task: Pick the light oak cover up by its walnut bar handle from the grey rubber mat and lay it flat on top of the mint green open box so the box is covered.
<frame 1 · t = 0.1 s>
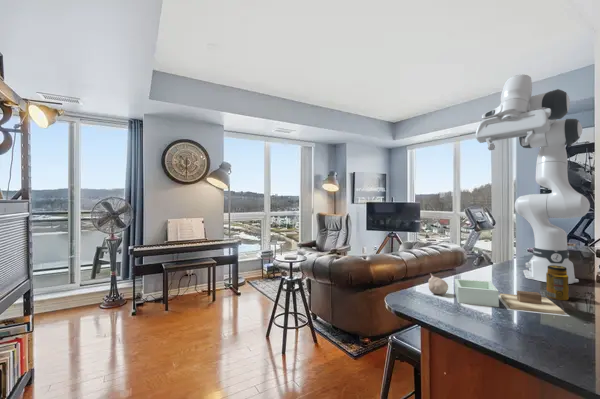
hand: (507, 147, 96), 54 cm above the counter, tool tilted 30°, fingers open, 8 cm apart
mint green open box: (475, 300, 105), on the counter
condiment: (556, 300, 105), on the counter
grey mat: (529, 306, 99), on the counter
oak cover: (529, 304, 99), point 1 cm above the counter, touching grey mat
garlic bulb: (438, 294, 114), on the counter
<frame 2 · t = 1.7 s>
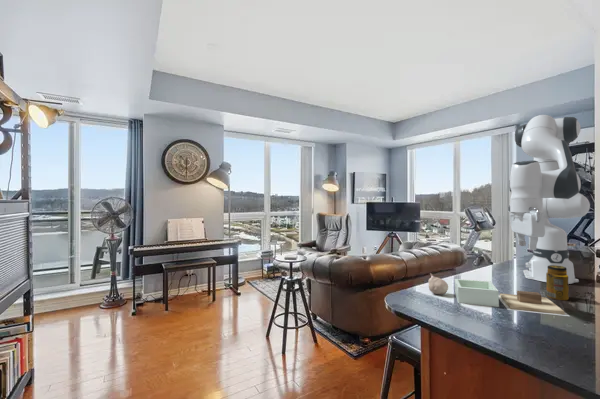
hand: (526, 247, 99), 20 cm above the counter, tool pointing down, fingers open, 8 cm apart
nothing on the counter moved.
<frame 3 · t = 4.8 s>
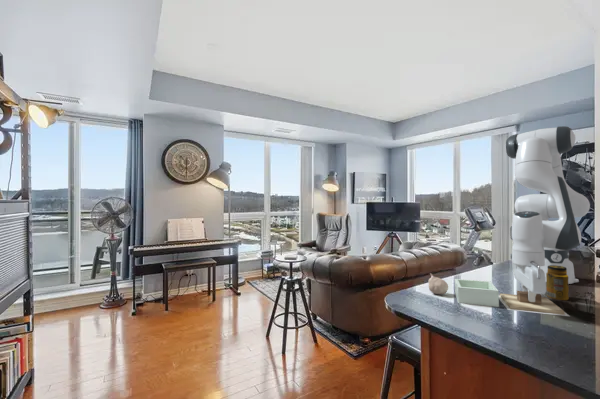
hand: (529, 299, 99), 2 cm above the counter, tool pointing down, fingers closed on oak cover, 3 cm apart
oak cover: (529, 304, 99), point 1 cm above the counter, touching grey mat, gripper
everything else where it was.
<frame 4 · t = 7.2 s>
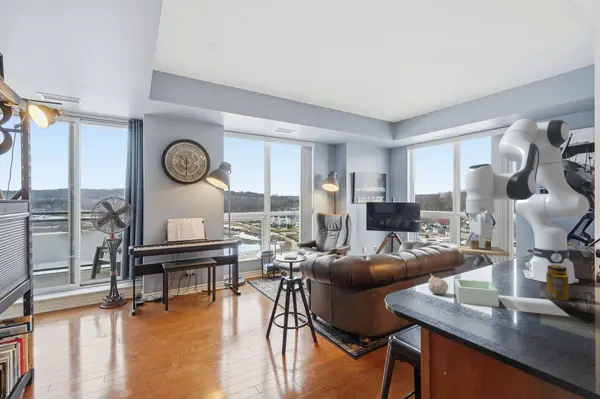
hand: (480, 246, 104), 20 cm above the counter, tool pointing down, fingers closed on oak cover, 3 cm apart
oak cover: (480, 251, 104), point 18 cm above the counter, touching gripper
everything else where it was.
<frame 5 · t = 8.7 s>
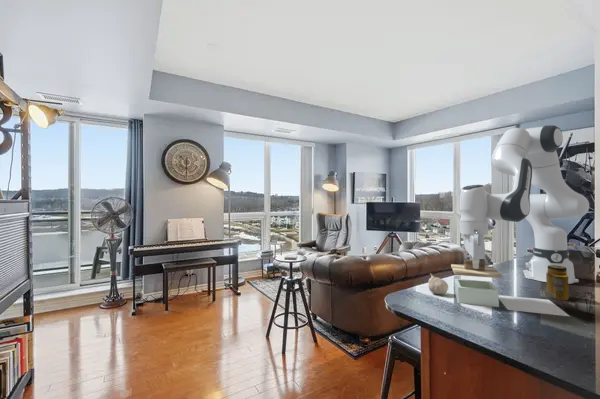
hand: (474, 267, 105), 12 cm above the counter, tool pointing down, fingers closed on oak cover, 3 cm apart
oak cover: (474, 271, 105), point 11 cm above the counter, touching gripper
everything else where it was.
when the fingers open (9 cm above the counter, at t = 9.9 s): oak cover drops 1 cm, resting on mint green open box.
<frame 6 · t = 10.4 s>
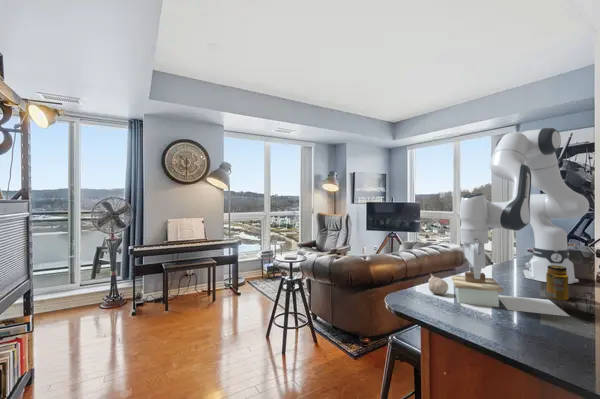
hand: (474, 275, 105), 9 cm above the counter, tool pointing down, fingers open, 8 cm apart
oak cover: (475, 284, 105), point 6 cm above the counter, touching mint green open box
everything else where it was.
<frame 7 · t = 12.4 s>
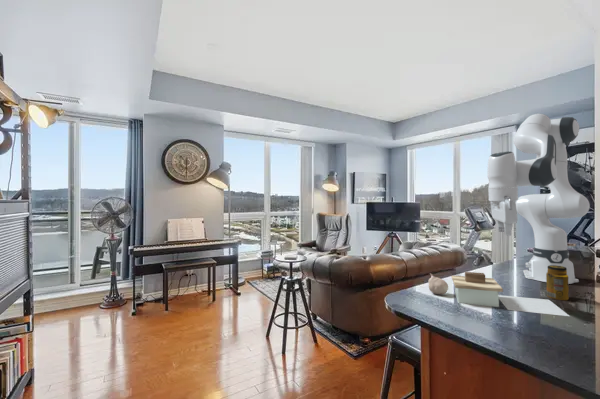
hand: (504, 233, 106), 24 cm above the counter, tool pointing down, fingers open, 8 cm apart
nothing on the counter moved.
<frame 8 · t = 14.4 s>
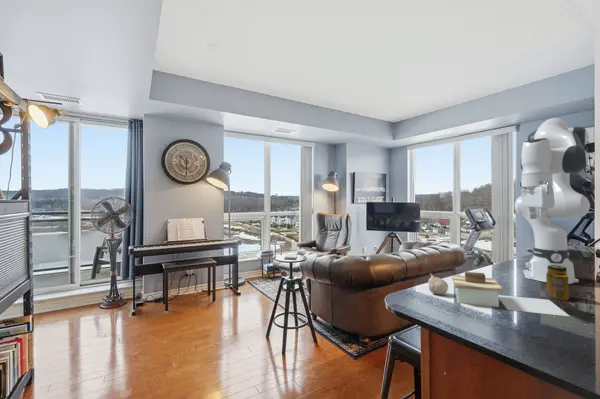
hand: (537, 219, 106), 29 cm above the counter, tool pointing down, fingers open, 8 cm apart
nothing on the counter moved.
at the end: oak cover 0.0 cm off-centre on the mint green open box, point 6.0 cm above the mint green open box's base; oak cover tilted 0°; the gripper is holding nothing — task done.
